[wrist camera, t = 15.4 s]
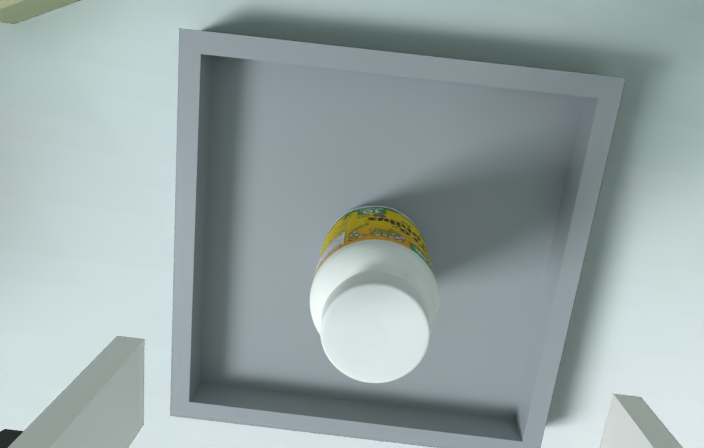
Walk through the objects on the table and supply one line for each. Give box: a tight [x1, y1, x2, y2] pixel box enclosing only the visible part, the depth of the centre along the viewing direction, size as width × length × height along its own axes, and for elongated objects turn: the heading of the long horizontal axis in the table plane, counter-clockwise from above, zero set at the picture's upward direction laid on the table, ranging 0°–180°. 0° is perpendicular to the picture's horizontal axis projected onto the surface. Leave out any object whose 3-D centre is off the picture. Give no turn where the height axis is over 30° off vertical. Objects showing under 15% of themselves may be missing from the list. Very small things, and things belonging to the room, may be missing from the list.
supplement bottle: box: [310, 206, 440, 383], centre depth 25 cm, size 5×5×10 cm
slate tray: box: [170, 28, 626, 448], centre depth 29 cm, size 20×20×2 cm
